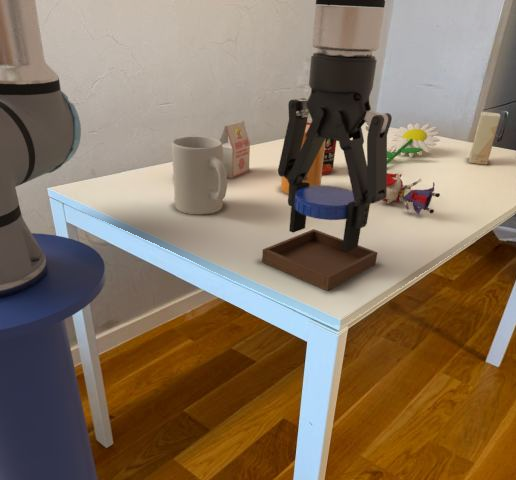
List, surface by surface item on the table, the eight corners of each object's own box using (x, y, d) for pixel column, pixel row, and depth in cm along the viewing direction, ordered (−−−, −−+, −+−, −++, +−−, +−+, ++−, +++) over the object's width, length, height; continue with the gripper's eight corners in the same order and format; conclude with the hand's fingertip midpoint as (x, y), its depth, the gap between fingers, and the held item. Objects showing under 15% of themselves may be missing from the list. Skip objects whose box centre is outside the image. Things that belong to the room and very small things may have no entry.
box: (486, 165, 123) (501, 116, 117) (468, 163, 124) (481, 114, 118) (486, 160, 127) (500, 112, 121) (468, 158, 128) (481, 111, 122)
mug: (165, 204, 90) (161, 139, 84) (204, 195, 95) (203, 134, 89) (204, 224, 83) (202, 155, 77) (244, 214, 88) (246, 149, 81)
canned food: (309, 176, 108) (314, 121, 102) (292, 166, 114) (296, 114, 108) (339, 173, 111) (346, 120, 105) (321, 164, 117) (327, 113, 111)
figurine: (418, 220, 87) (355, 197, 96) (445, 222, 92) (383, 199, 102) (431, 183, 84) (365, 162, 94) (458, 186, 89) (393, 166, 99)
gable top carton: (217, 174, 107) (217, 124, 101) (234, 168, 112) (235, 119, 106) (232, 178, 105) (232, 127, 100) (249, 171, 110) (250, 122, 104)
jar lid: (370, 210, 68) (372, 196, 67) (332, 225, 63) (334, 210, 62) (320, 194, 73) (321, 181, 72) (281, 207, 68) (282, 193, 66)
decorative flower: (404, 186, 113) (444, 144, 131) (406, 164, 110) (447, 124, 128) (351, 178, 119) (397, 139, 137) (352, 158, 116) (399, 120, 134)
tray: (261, 262, 72) (262, 249, 71) (312, 241, 79) (313, 228, 78) (327, 291, 66) (329, 277, 64) (375, 265, 73) (378, 252, 72)
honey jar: (272, 189, 100) (276, 127, 94) (297, 182, 105) (302, 122, 98) (303, 199, 96) (309, 134, 89) (327, 191, 101) (335, 129, 94)
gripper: (446, 60, 54) (403, 255, 67) (294, 44, 66) (282, 212, 78) (411, 63, 49) (372, 272, 62) (254, 45, 61) (249, 224, 74)
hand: (322, 238), depth 70 cm, fingers closed on jar lid, 8 cm apart
